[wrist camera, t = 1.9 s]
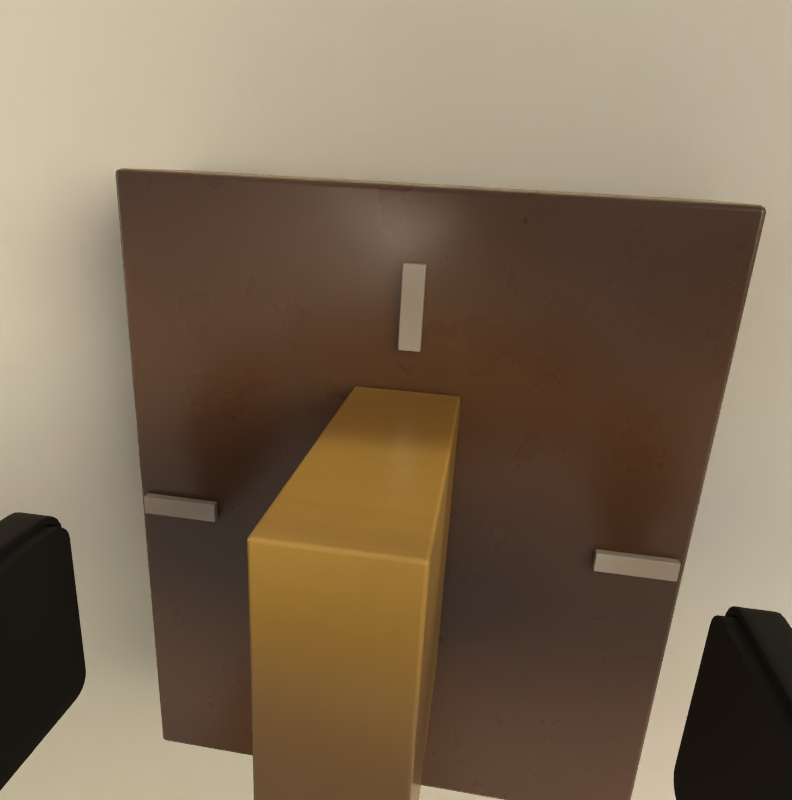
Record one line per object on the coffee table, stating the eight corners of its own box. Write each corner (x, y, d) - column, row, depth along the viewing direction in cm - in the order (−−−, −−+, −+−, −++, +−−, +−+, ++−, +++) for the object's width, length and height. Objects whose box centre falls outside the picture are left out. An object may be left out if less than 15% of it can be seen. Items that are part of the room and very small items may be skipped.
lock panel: (183, 170, 13) (106, 167, 10) (715, 200, 12) (774, 206, 9) (209, 663, 17) (157, 747, 14) (607, 726, 15) (628, 830, 13)
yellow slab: (354, 384, 11) (235, 550, 6) (461, 395, 11) (427, 577, 6) (345, 650, 13) (248, 943, 8) (436, 664, 13) (395, 976, 8)
